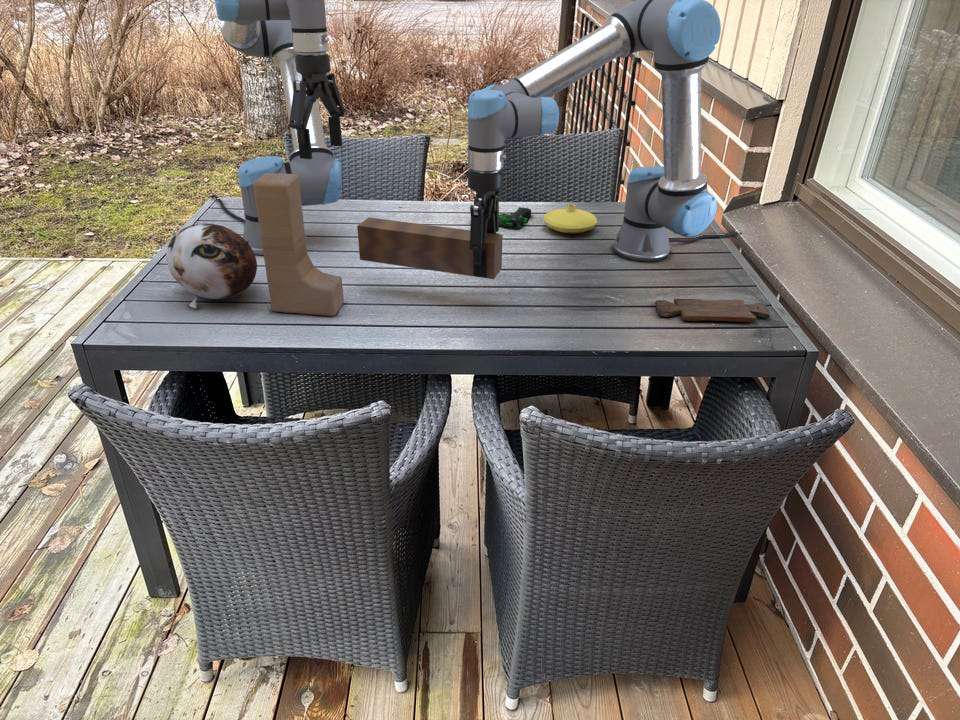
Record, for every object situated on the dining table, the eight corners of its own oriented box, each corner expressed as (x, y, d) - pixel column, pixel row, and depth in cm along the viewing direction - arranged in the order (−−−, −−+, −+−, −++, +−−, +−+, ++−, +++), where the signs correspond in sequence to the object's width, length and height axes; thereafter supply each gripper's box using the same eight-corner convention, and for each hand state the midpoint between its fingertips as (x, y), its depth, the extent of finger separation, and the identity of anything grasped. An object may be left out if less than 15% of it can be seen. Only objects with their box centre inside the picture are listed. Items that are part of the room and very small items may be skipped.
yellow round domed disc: (559, 216, 220) (561, 193, 217) (605, 227, 212) (608, 204, 209) (532, 230, 209) (533, 207, 206) (580, 242, 201) (582, 218, 198)
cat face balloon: (130, 285, 161) (164, 203, 163) (192, 308, 177) (221, 233, 178) (195, 307, 151) (229, 220, 152) (254, 330, 166) (285, 250, 168)
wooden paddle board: (775, 325, 161) (761, 305, 169) (777, 318, 160) (763, 299, 168) (660, 321, 161) (652, 301, 169) (661, 314, 160) (653, 295, 169)
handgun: (537, 208, 218) (520, 221, 206) (536, 217, 220) (520, 231, 208) (488, 201, 224) (469, 214, 212) (488, 211, 225) (469, 224, 213)
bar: (359, 259, 168) (356, 225, 163) (370, 250, 172) (368, 217, 168) (493, 279, 159) (494, 243, 155) (501, 269, 164) (502, 234, 159)
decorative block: (334, 317, 160) (321, 185, 145) (271, 312, 162) (251, 181, 147) (344, 302, 167) (333, 175, 151) (283, 298, 168) (265, 171, 153)
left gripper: (295, 60, 145) (307, 165, 155) (354, 48, 165) (361, 141, 176) (263, 58, 147) (277, 162, 157) (326, 46, 167) (334, 139, 178)
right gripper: (489, 183, 141) (487, 289, 153) (515, 159, 157) (511, 257, 169) (453, 179, 143) (454, 284, 155) (482, 156, 159) (481, 253, 171)
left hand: (321, 152), depth 166 cm, fingers open, 13 cm apart
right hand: (484, 270), depth 162 cm, fingers closed on bar, 6 cm apart
